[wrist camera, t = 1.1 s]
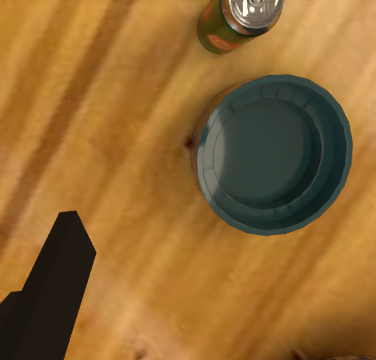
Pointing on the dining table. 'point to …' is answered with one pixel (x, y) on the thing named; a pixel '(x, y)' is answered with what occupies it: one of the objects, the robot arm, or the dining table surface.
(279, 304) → the dining table surface
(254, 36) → the soda can
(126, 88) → the dining table surface
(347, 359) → the ceramic bowl
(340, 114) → the glazed bowl
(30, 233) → the dining table surface
